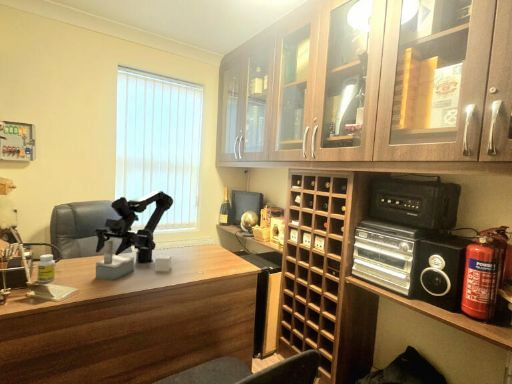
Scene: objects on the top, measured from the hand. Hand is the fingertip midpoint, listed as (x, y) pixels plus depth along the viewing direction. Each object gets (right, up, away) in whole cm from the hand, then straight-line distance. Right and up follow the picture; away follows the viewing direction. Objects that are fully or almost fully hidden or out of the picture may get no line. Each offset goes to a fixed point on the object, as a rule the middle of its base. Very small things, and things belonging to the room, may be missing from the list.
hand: (106, 253), depth 113 cm
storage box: (+1, -10, +6) cm, 12 cm away
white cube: (+18, -11, +16) cm, 27 cm away
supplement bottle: (-22, -10, -4) cm, 24 cm away
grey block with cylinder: (+1, -5, +6) cm, 8 cm away
